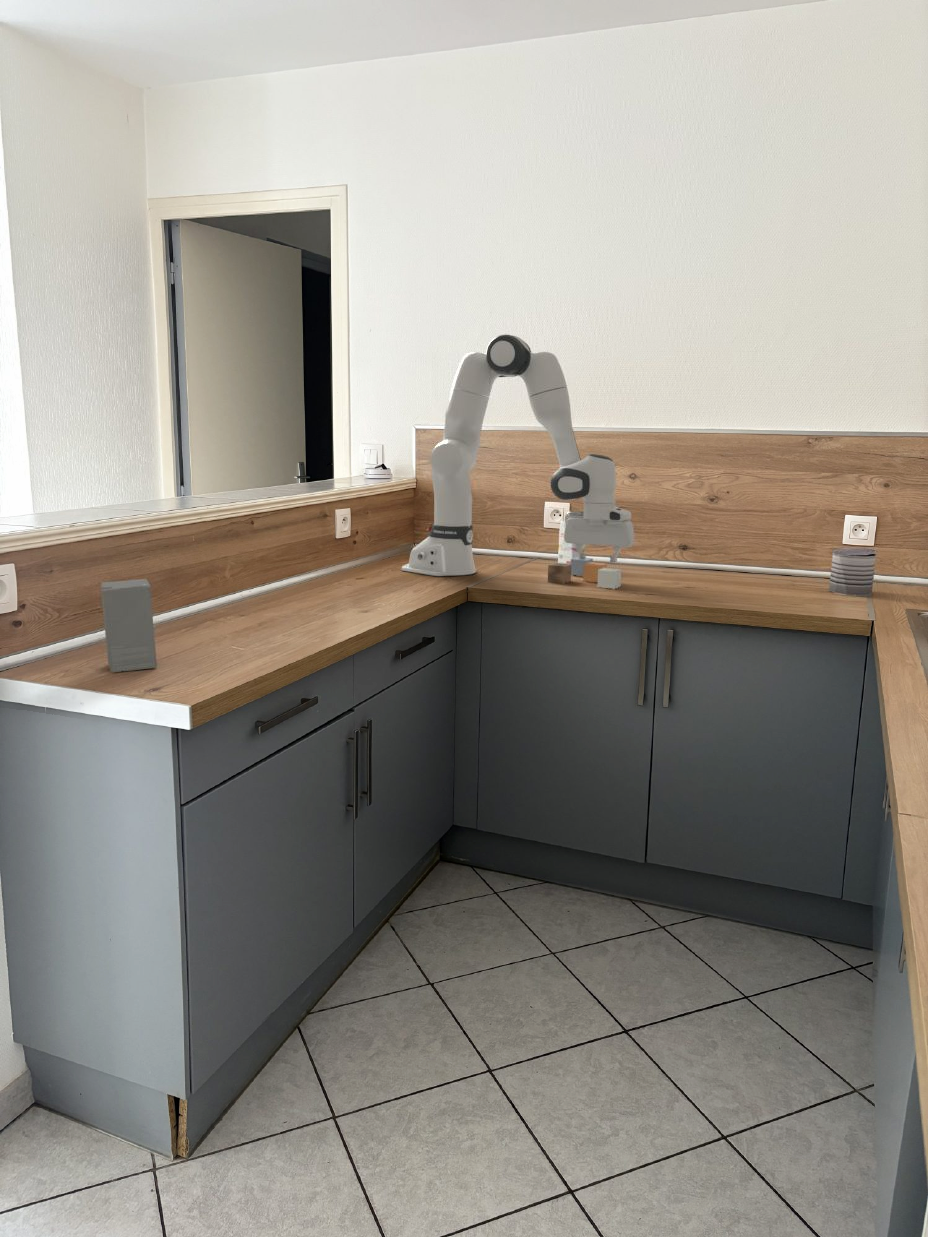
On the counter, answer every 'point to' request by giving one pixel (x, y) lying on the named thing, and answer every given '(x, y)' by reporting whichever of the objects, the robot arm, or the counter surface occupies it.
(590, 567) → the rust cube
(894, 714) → the counter surface
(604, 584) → the grey cube
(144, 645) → the skincare box
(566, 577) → the walnut cube
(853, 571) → the can
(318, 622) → the counter surface
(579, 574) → the slate cube
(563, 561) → the ink cartridge box
